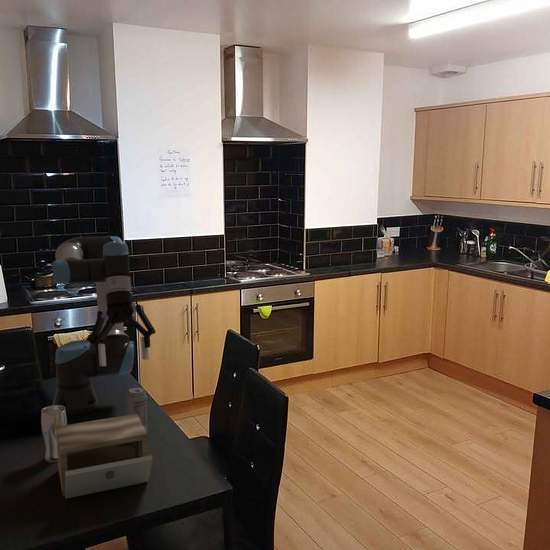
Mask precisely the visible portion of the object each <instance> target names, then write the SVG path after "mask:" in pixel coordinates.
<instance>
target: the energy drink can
mask: <svg viewBox="0 0 550 550" xmlns="http://www.w3.org/2000/svg"><path fill="white" fill-rule="evenodd" d="M147 401H148V399H147V392H146V391H145V388H144V387H138V386H135V387H132V388H129V389H128V393H127V395H126V403H127V404H126V405H127V406H126V407H127V411H126V412H127V415H133V414H137V415H138V416H139V418H140V420H141V422H142V424H143V426H144V428H145V430H146V432H147V433H148V407H147V406H148V403H147Z"/></svg>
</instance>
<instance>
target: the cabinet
mask: <svg viewBox="0 0 550 550" xmlns="http://www.w3.org/2000/svg"><path fill="white" fill-rule="evenodd" d="M56 434H57V451H58V462H57V466H58V467H57V468H58V469H57V470H58V475H59V476H58V477H59V481H60V488H61V494H62V495H61V496H62V497H65V471H71V470H76V469H81V468H86V467H92V466H97V465H102V464H108V463H113V462H118V461H124V460H129V459H134V458H140V457H145V456H149V445H148V444H149V442H148V441H149V439H148V436H149V435H148V431H147V432H146V430H145V428H144V426H143V424H142V422H141V420H140V418H139V416H138V415H137V414H133V415H128V414H126V415H122V416H114V417H109V418H104V419H96V420H89V421H83V422H77V423H71V424H67V425H63V426H57V427H56Z"/></svg>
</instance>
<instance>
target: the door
mask: <svg viewBox="0 0 550 550" xmlns="http://www.w3.org/2000/svg"><path fill="white" fill-rule="evenodd" d="M153 460H154V459H153V455H152V454H150V455H148V456H145V457H140V458H134V459H129V460H124V461H118V462H113V463H108V464H102V465H97V466H92V467H86V468H81V469H76V470H71V471H65V496H64V499H71V498H76V497H80V496H84V495H91V494H96V493H101V492H104V491H105V492H106V491H109V490H115V489H118V488H119V489H120V488H124V487H125V488H126V487H128V486H134V485H139V484H145V483H149V479H150V475H151V471H152V465H153Z"/></svg>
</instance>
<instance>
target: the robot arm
mask: <svg viewBox="0 0 550 550" xmlns="http://www.w3.org/2000/svg"><path fill="white" fill-rule="evenodd" d="M128 247H129V246H128V244H127V243H125V242H124V241H122V239H121V238H120V237H119V236H117V235H116V236H114V235H113V236H111V235H106V236H105V235H103V236H76V237H72V238H70V239H67V240H65V241H63V242H62V243H60V244H59V245H58V246H57V248H56V250H55V253H54V254H55V258H54V259H55V260H54V261H52V272H53V273H52V274H53V275H52V276H53V282H54V284H56V285H64V286H65V285H72V284H86V283H87V284H90V283H92V284H93V283H95V288H96V289H95V291H96V301H97V312H96V313H97V315H96V320H95V324H94V326H93V328H92V331H91V333H90V337H89V339H88V340H85V339H84V340H83V339H78V340H72V341H69V342H66V343H64V344H62V345H60V346H58V348H57V349H56V350H55V360H54V363H55V371H56V372H55V373H56V391H55V395H54V398H53V402H52V405H62V406H64V407H65V410H66V417H68V416H69V417H70V416H80V415H84V414H87V413H90V412H92V411H95V409H97V408H98V406H99V403H98V402H99V399H98V395H97V394H96V391H95V389H94V386H93V381H92V380H93V378H94V379H96V378H104V377H113V376H117V377H119V376H121V375H127V374H131V372H132V370H133V366H134V356H135V345H134V344H135V343H134V341H133V340H130V336H129V335H128V334H126V333H125V328H124V324H125V323H128V322H129V324H131V325H132V326H133V327H134V328H135V329H136V330H137V331H138V332H139V333H140V334H141V335H142V336H140V344H141V345H140V347H141V356H142V358H141V359H142V360H148V361H149V360H150V359H149V348H151V339H150V338H151V336H152V335H155V334H156V329H155V327H154V326H153V324H152V322H151V321H150V319H149V318H148V316H147V314H146V313H145V311H144V305H142V304H140V303H138V304H136V305H133V293H132V282H131V274H130V273H131V271H130V256H129V255H130V252H129V248H128ZM134 312H135V313H136V314H137V315H138V317H139V318H140V320H141V322H142V324H143V325H144V326H143V325H142V324H141V323H140V322H139V321H137V318H135V317H134V316H133V314H134Z"/></svg>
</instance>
